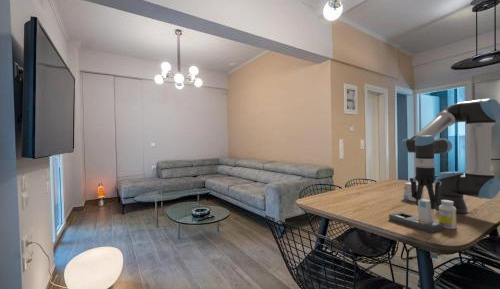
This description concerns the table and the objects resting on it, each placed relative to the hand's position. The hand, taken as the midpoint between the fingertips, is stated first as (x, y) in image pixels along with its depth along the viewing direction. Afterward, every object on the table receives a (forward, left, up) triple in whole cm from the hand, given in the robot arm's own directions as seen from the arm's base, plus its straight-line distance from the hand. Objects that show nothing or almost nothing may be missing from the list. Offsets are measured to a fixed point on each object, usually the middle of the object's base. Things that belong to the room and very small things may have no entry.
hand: (425, 213), depth 114 cm
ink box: (-49, -33, -7) cm, 59 cm away
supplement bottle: (-10, +4, -7) cm, 13 cm away
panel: (0, -5, -7) cm, 8 cm away
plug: (0, 0, -4) cm, 4 cm away
